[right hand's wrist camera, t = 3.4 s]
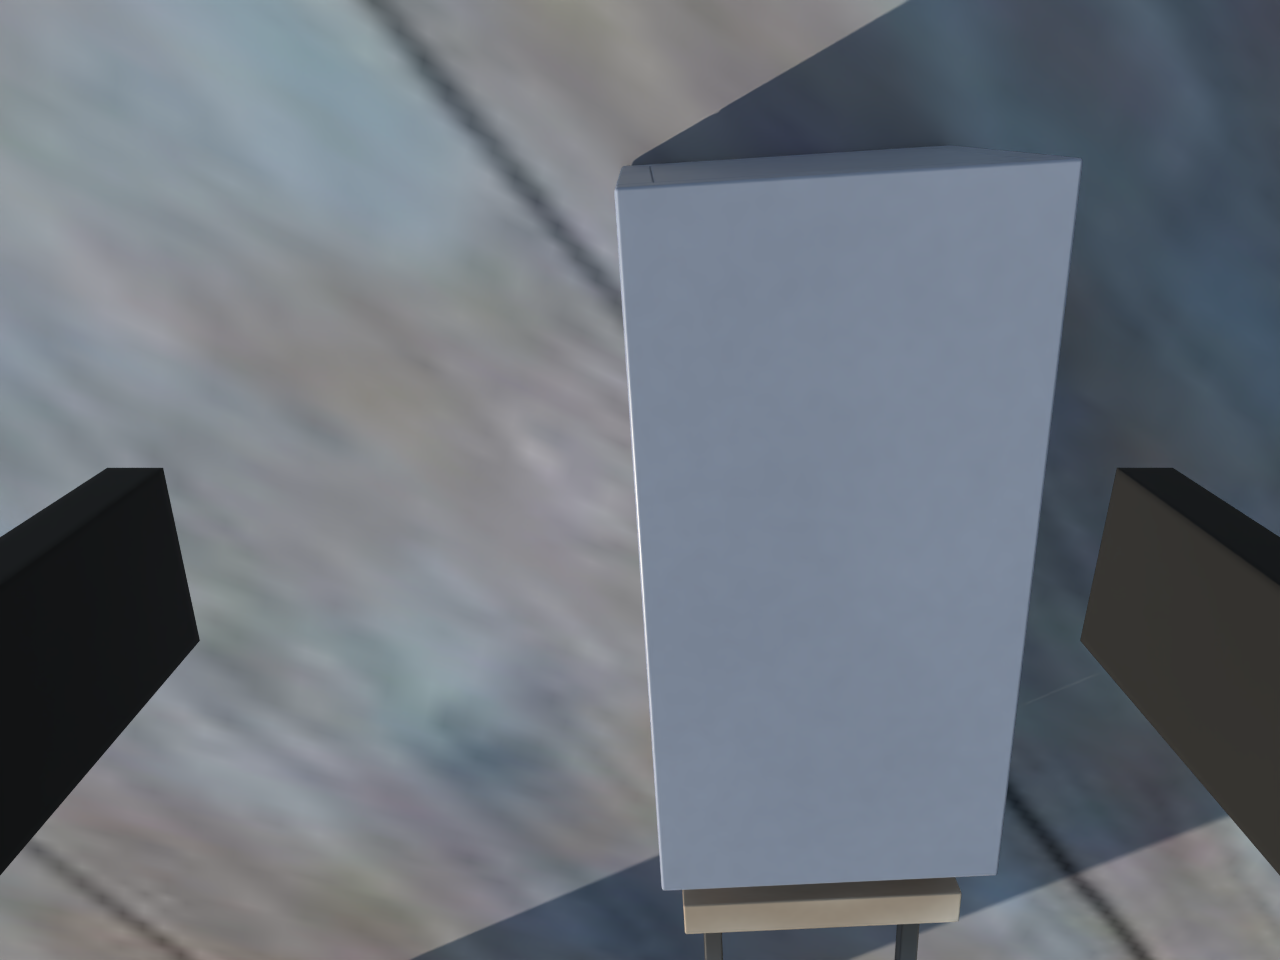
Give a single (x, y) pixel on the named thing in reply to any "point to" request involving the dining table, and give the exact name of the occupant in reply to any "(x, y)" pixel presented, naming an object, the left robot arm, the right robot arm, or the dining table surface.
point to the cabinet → (839, 498)
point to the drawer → (822, 909)
